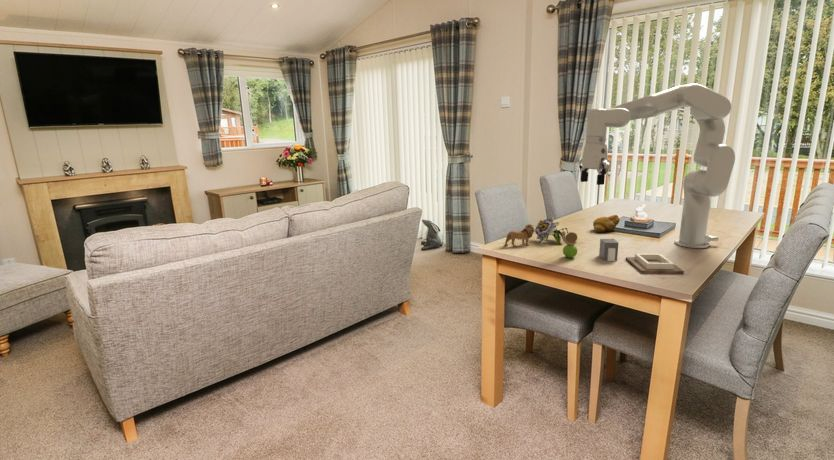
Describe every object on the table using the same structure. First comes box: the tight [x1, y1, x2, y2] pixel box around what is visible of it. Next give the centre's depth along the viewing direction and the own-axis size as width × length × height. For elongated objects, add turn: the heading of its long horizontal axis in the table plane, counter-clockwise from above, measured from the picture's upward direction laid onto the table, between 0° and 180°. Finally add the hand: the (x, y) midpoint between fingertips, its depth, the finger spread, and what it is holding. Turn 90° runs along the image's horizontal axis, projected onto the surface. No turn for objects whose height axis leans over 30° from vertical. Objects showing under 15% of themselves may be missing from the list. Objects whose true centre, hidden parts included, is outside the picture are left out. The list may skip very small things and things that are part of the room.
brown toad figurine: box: [592, 214, 620, 233], centre depth 213 cm, size 13×10×8 cm
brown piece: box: [625, 253, 685, 275], centre depth 161 cm, size 14×16×3 cm
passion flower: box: [533, 216, 569, 245], centre depth 197 cm, size 13×12×14 cm
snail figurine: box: [561, 228, 578, 259], centre depth 173 cm, size 5×6×12 cm
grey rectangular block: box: [598, 238, 619, 262], centre depth 171 cm, size 5×7×7 cm
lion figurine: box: [503, 223, 535, 248], centre depth 192 cm, size 15×5×9 cm, turn 110°
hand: (591, 183), depth 180 cm, fingers open, 9 cm apart
